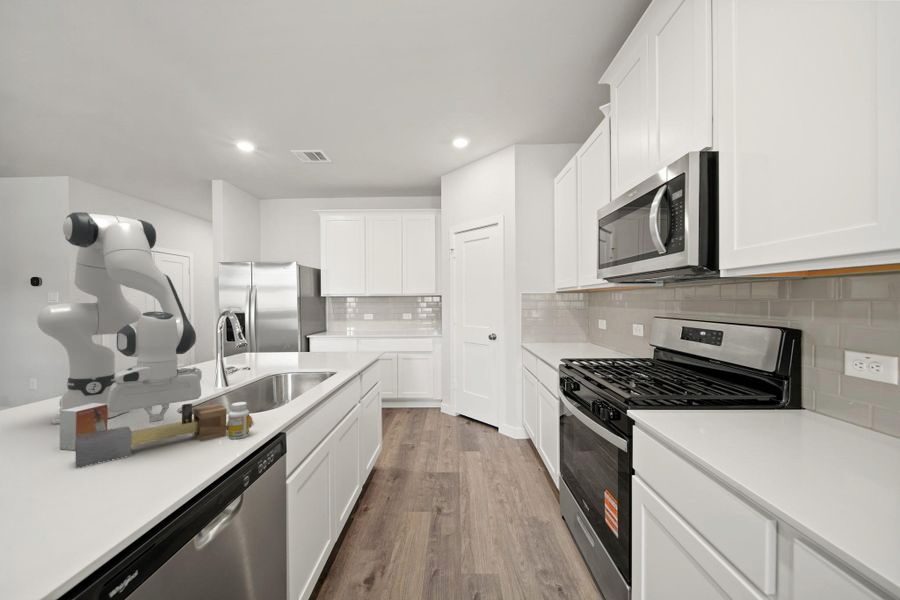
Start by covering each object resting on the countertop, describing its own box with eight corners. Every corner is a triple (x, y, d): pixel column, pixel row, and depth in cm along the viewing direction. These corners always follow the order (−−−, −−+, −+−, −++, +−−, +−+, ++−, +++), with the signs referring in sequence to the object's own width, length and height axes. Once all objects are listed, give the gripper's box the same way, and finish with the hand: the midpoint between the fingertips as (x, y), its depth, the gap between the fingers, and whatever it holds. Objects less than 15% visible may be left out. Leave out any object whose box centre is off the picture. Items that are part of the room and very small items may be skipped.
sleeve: (75, 460, 93) (75, 435, 93) (128, 449, 100) (128, 426, 100) (76, 468, 88) (76, 441, 88) (131, 455, 96) (131, 431, 96)
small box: (74, 451, 98) (75, 411, 99) (58, 449, 100) (59, 410, 100) (108, 440, 106) (108, 403, 106) (92, 438, 107) (93, 402, 108)
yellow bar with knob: (129, 442, 99) (129, 412, 99) (215, 425, 113) (215, 398, 113) (130, 445, 97) (130, 415, 97) (218, 427, 111) (218, 400, 111)
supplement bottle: (241, 431, 114) (241, 400, 114) (253, 434, 112) (253, 402, 112) (224, 437, 109) (224, 404, 109) (236, 440, 107) (236, 406, 107)
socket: (193, 434, 111) (193, 407, 111) (218, 429, 116) (218, 403, 116) (200, 441, 106) (200, 413, 106) (226, 435, 111) (226, 408, 111)
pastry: (234, 421, 124) (235, 410, 124) (256, 420, 126) (257, 409, 126) (224, 431, 115) (224, 419, 115) (248, 430, 116) (248, 418, 116)
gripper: (198, 365, 112) (198, 410, 112) (106, 374, 97) (105, 427, 97) (204, 367, 108) (204, 415, 107) (109, 377, 93) (108, 433, 92)
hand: (156, 421), depth 102 cm, fingers closed
